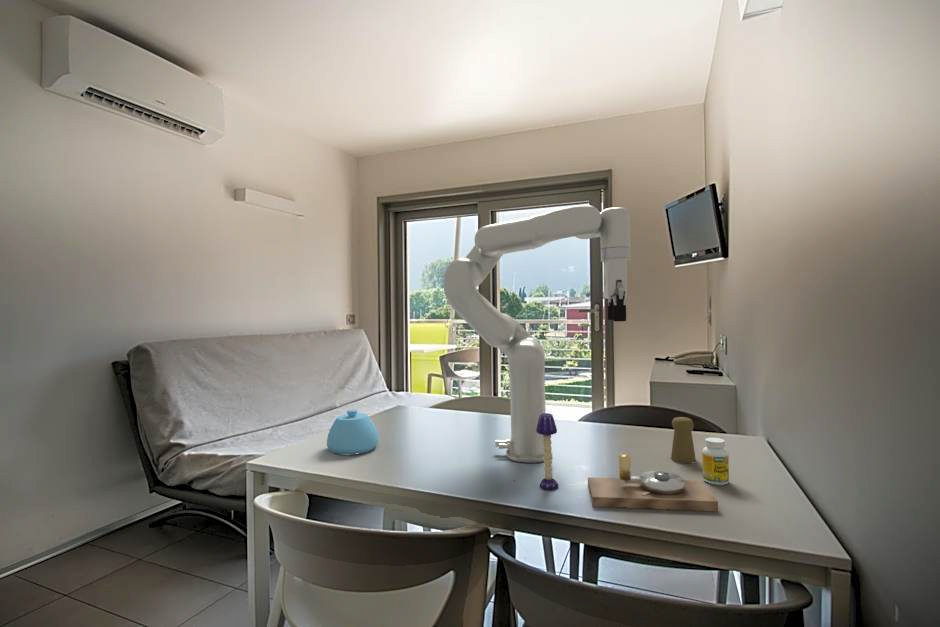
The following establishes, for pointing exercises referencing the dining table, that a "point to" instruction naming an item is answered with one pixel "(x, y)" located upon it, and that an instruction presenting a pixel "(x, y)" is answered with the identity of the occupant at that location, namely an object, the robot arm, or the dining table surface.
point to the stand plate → (649, 496)
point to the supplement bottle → (715, 462)
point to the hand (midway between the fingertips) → (616, 320)
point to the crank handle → (651, 478)
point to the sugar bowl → (352, 434)
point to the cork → (683, 440)
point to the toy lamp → (547, 449)
